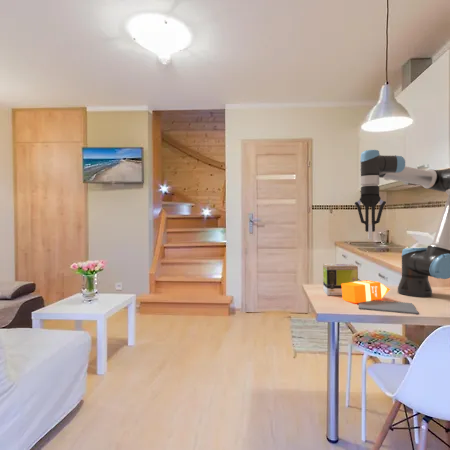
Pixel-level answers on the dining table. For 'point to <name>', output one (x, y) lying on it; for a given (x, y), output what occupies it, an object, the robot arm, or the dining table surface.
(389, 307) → the mat
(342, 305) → the dining table surface
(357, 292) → the orange juice
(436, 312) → the dining table surface
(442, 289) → the dining table surface
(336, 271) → the tea box
